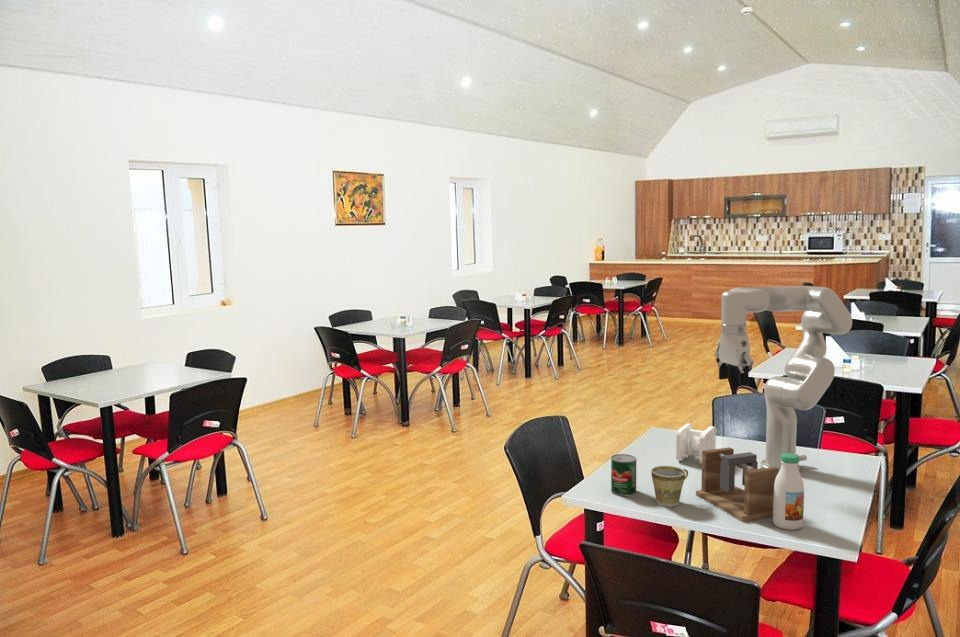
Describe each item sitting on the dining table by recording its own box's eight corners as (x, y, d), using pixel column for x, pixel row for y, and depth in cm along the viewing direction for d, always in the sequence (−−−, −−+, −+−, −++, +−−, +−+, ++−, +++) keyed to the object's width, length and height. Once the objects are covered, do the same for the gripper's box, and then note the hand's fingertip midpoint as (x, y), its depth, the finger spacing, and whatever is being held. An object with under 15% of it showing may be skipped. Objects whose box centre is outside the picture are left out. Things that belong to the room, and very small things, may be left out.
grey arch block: (747, 483, 219) (748, 451, 217) (756, 488, 215) (757, 455, 214) (719, 487, 215) (720, 455, 214) (728, 492, 212) (729, 459, 210)
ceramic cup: (666, 511, 212) (667, 478, 211) (643, 500, 220) (644, 469, 219) (699, 503, 218) (700, 471, 217) (675, 492, 227) (676, 462, 225)
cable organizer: (687, 452, 268) (688, 421, 267) (716, 456, 262) (717, 425, 261) (675, 463, 256) (675, 431, 254) (705, 468, 250) (706, 435, 248)
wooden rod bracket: (695, 495, 224) (696, 451, 222) (733, 489, 228) (734, 446, 227) (742, 521, 203) (743, 473, 202) (783, 515, 208) (784, 467, 206)
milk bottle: (772, 528, 198) (775, 458, 196) (772, 518, 206) (774, 449, 203) (803, 532, 196) (806, 460, 193) (802, 521, 203) (804, 452, 200)
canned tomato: (634, 487, 232) (634, 454, 231) (638, 496, 225) (638, 461, 223) (609, 487, 233) (609, 453, 232) (612, 496, 225) (612, 461, 224)
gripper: (762, 331, 225) (761, 385, 227) (725, 325, 241) (725, 375, 243) (742, 334, 222) (742, 388, 224) (706, 327, 238) (706, 378, 241)
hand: (733, 381), depth 234 cm, fingers open, 9 cm apart
